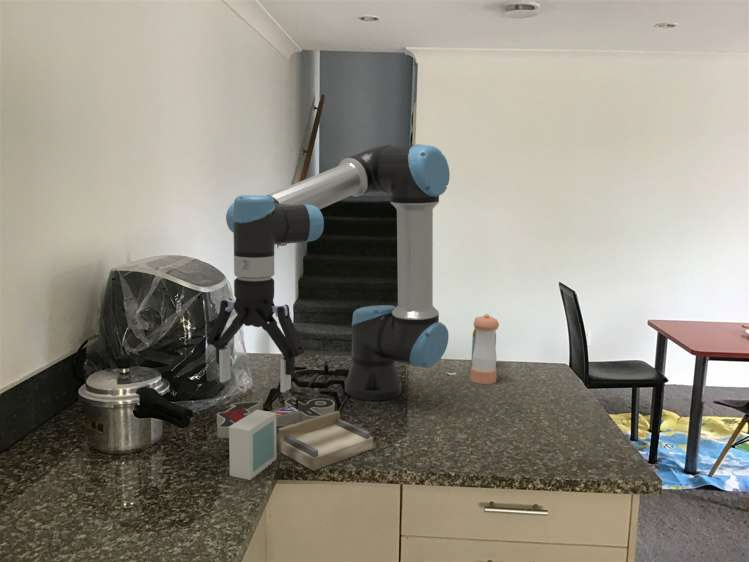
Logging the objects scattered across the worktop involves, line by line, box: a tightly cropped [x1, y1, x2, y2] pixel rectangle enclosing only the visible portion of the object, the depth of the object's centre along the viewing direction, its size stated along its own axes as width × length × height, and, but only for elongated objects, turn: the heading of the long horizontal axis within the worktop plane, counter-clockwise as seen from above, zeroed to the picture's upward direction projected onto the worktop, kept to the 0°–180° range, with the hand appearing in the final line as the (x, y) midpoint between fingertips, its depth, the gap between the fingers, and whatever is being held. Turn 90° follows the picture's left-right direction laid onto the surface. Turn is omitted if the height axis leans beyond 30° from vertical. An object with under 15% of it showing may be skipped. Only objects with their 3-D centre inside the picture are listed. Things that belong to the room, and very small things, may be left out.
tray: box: [277, 410, 374, 472], centre depth 140 cm, size 12×16×5 cm
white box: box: [228, 409, 278, 481], centre depth 131 cm, size 5×10×10 cm, turn 158°
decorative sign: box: [216, 397, 336, 446], centre depth 155 cm, size 22×3×30 cm
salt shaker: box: [470, 314, 500, 385], centre depth 188 cm, size 7×7×19 cm
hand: (254, 385), depth 129 cm, fingers open, 13 cm apart
